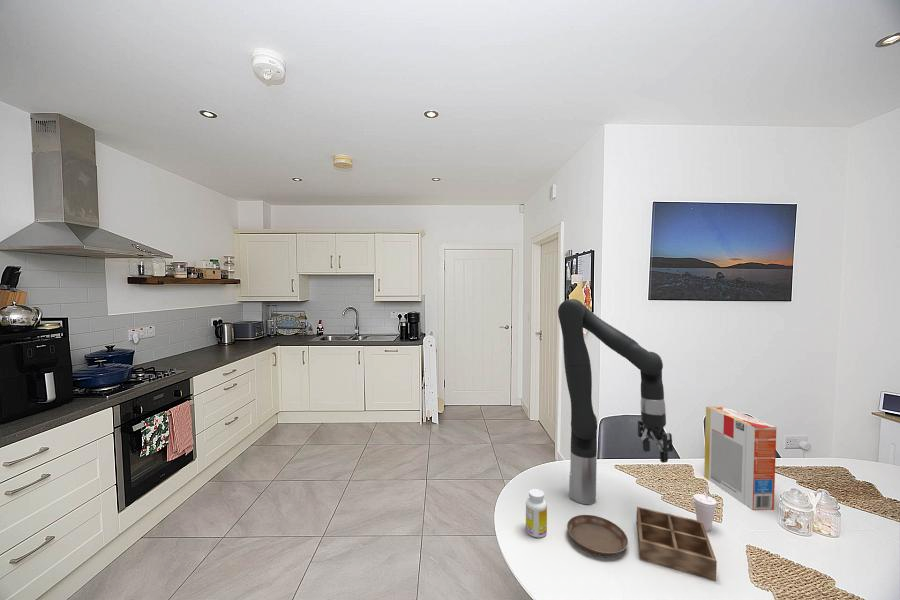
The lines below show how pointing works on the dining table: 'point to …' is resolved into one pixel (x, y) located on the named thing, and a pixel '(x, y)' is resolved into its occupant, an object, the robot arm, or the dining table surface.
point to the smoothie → (705, 509)
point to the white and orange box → (741, 456)
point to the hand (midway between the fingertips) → (655, 456)
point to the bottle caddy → (675, 543)
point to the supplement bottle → (536, 514)
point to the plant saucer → (597, 535)
